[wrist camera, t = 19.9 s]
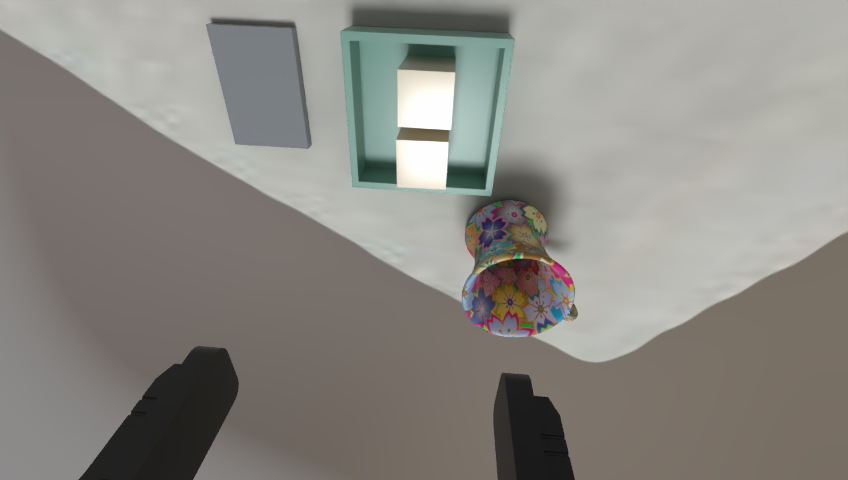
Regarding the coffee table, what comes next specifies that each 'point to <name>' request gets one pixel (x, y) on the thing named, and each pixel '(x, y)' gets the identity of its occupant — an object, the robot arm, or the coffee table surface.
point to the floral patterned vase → (514, 273)
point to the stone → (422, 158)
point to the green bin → (378, 102)
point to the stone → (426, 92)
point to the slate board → (261, 83)
